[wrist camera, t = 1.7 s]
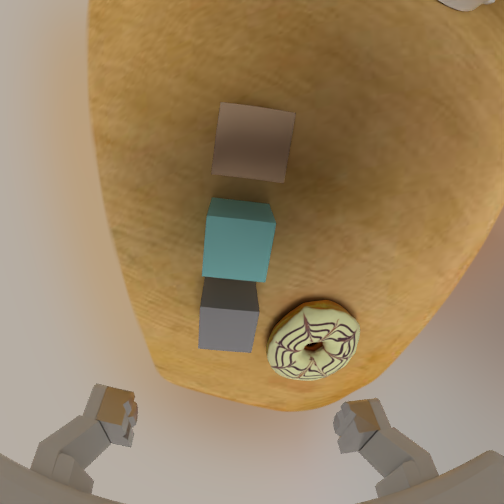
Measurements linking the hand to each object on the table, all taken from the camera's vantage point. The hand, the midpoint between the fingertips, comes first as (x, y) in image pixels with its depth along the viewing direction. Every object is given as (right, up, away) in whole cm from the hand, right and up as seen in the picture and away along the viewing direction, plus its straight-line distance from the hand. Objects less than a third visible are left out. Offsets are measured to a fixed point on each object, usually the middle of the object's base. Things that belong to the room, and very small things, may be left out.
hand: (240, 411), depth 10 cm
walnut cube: (0, +15, +13) cm, 20 cm away
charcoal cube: (-2, +1, +20) cm, 20 cm away
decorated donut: (+7, -3, +23) cm, 24 cm away
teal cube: (-1, +8, +16) cm, 19 cm away
